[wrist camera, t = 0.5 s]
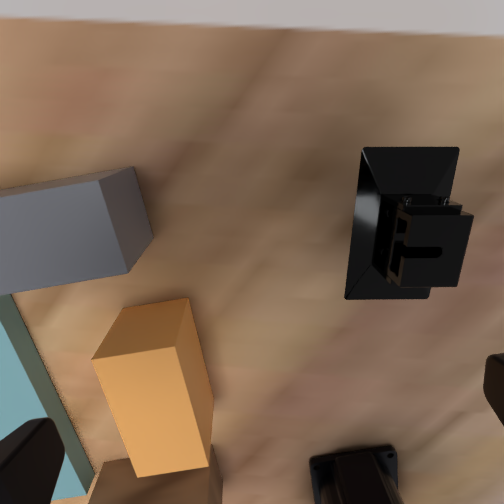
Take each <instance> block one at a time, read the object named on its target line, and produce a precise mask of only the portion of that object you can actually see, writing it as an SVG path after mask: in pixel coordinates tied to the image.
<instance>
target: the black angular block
mask: <svg viewBox="0 0 504 504" xmlns="http://www.w3.org/2000/svg"><path fill="white" fill-rule="evenodd" d="M459 151H460V149H459V148H458V147H364V148H363V149H362V153H361V161H360V169H359V178H358V186H357V195H356V203H355V211H354V220H353V228H352V237H351V245H350V254H349V262H348V270H347V279H346V287H345V296H344V298H345V299H346V300H365V299H427V298H428V297H429V294H430V290H431V287H457V285H458V281H459V277H460V273H461V269H462V264H463V260H464V256H465V252H466V248H467V244H468V240H469V235H470V231H471V227H472V223H473V219H474V215H472V214H469V213H466V212H464V211H461V210H462V206H463V205H462V204H459V203H456V202H453V201H450V194H451V189H452V184H453V179H454V175H455V170H456V165H457V160H458V156H459Z"/></svg>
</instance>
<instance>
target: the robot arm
mask: <svg viewBox="0 0 504 504" xmlns="http://www.w3.org/2000/svg"><path fill="white" fill-rule="evenodd" d="M483 390H484V394H485V397H486V399H487V401H488V402H489V404H490V406H491V407H492V409H493V410H494V412H495V413H496V415H497V416H498V418H499V420H500V421H501V423H502V424H503V426H504V353H500V354H493V355H490V356H488V358H487V359H486V365H485V374H484V384H483ZM64 457H65V446H64V443H63V441H62V438H61V436H60V434H59V431H58V429H57V427H56V424H55V422H54V420H53V419H51V418H50V417H43V418H36V419H31V420H28V421H26V422H25V423H24V424H22V425H21V426H19V427H18V428H17V429H15V430H14V431H13V432H11V433H10V434H9V435H7V436H6V437H5V438H3V439H2V440H0V504H50V503H51V500H52V496H53V493H54V490H55V487H56V484H57V480H58V477H59V474H60V471H61V468H62V464H63V461H64ZM309 467H310V474H311V480H312V487H313V494H314V500H315V504H404V503H403V501H402V498H401V496H400V494H399V492H398V473H397V453H396V451H395V448H394V447H392V446H385V447H379V448H372V449H366V450H360V451H354V452H348V453H342V454H336V455H330V456H324V457H318V458H313V459H311V460H310V462H309Z"/></svg>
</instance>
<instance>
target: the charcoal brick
mask: <svg viewBox="0 0 504 504" xmlns="http://www.w3.org/2000/svg"><path fill="white" fill-rule="evenodd" d="M153 238H154V237H153V234H152V230H151V227H150V223H149V220H148V216H147V213H146V209H145V206H144V202H143V199H142V195H141V192H140V188H139V185H138V181H137V178H136V174H135V171H134V167H133V166H131V167H126V168H120V169H114V170H109V171H103V172H97V173H92V174H86V175H81V176H75V177H69V178H64V179H58V180H52V181H47V182H41V183H36V184H30V185H24V186H19V187H13V188H7V189H2V190H0V295H6V294H12V293H17V292H23V291H29V290H35V289H40V288H46V287H52V286H58V285H64V284H69V283H75V282H81V281H87V280H92V279H98V278H104V277H110V276H116V275H121V274H127V273H129V271H130V270H131V269H132V267H133V266H134V265H135V263H136V262H137V260H138V259H139V258H140V256H141V255H142V253H143V252H144V251H145V249H146V248H147V247H148V245H149V244H150V242H151V241H152V240H153Z"/></svg>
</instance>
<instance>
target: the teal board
mask: <svg viewBox="0 0 504 504" xmlns="http://www.w3.org/2000/svg"><path fill="white" fill-rule="evenodd" d="M43 417H50V418H51V419H53V420H54V422H55V424H56V427H57V429H58V431H59V434H60V436H61V438H62V441H63V443H64V446H65V457H64V461H63V464H62V468H61V471H60V474H59V477H58V480H57V484H56V487H55V490H54V493H53V496H52V500H58V499H64V498H70V497H76V496H82V495H87V493H88V490H89V488H90V485H91V483H92V480H93V478H94V475H95V473H94V471H93V469H92V467H91V465H90V463H89V460H88V458H87V456H86V454H85V452H84V450H83V448H82V446H81V443H80V441H79V439H78V437H77V435H76V433H75V431H74V428H73V426H72V424H71V422H70V420H69V418H68V416H67V414H66V411H65V409H64V407H63V405H62V403H61V401H60V399H59V397H58V394H57V392H56V390H55V388H54V386H53V384H52V382H51V380H50V377H49V375H48V373H47V371H46V369H45V367H44V365H43V362H42V360H41V358H40V356H39V354H38V352H37V350H36V348H35V345H34V343H33V341H32V339H31V337H30V335H29V333H28V331H27V328H26V326H25V324H24V322H23V320H22V318H21V316H20V314H19V311H18V309H17V307H16V305H15V303H14V301H13V299H12V296H11V294H6V295H0V440H2V439H3V438H5V437H6V436H7V435H9V434H10V433H11V432H13V431H14V430H15V429H17V428H18V427H19V426H21V425H22V424H24V423H25V422H26V421H28V420H31V419H36V418H43ZM52 500H51V501H52Z"/></svg>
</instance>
